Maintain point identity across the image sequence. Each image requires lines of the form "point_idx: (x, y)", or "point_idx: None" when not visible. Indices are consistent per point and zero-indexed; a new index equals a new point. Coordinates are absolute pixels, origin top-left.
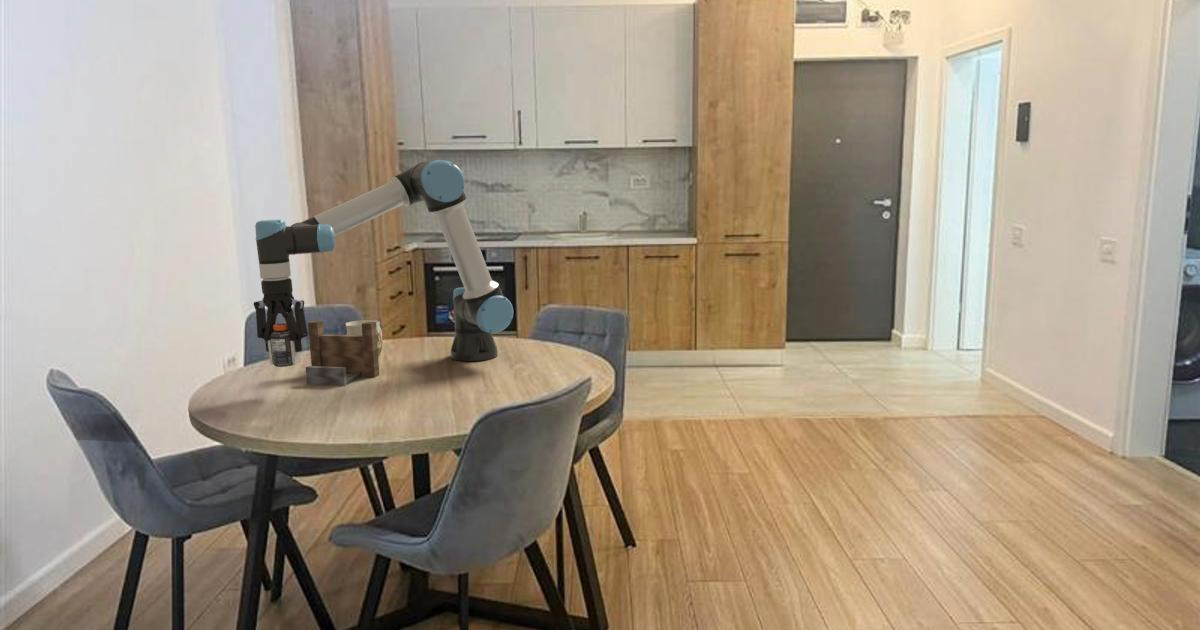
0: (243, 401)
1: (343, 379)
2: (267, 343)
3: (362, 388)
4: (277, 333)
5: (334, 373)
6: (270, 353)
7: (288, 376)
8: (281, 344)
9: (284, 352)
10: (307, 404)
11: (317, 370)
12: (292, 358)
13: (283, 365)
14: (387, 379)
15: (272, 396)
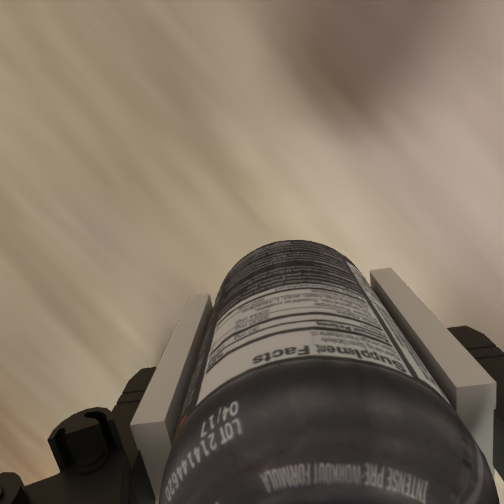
0: (411, 62)
1: None
2: (500, 379)
3: (49, 386)
4: (309, 465)
5: None
6: (410, 307)
7: None
8: (236, 335)
9: (229, 304)
10: (61, 121)
11: None
12: (200, 316)
13: (253, 252)
14: None
15: (325, 186)
